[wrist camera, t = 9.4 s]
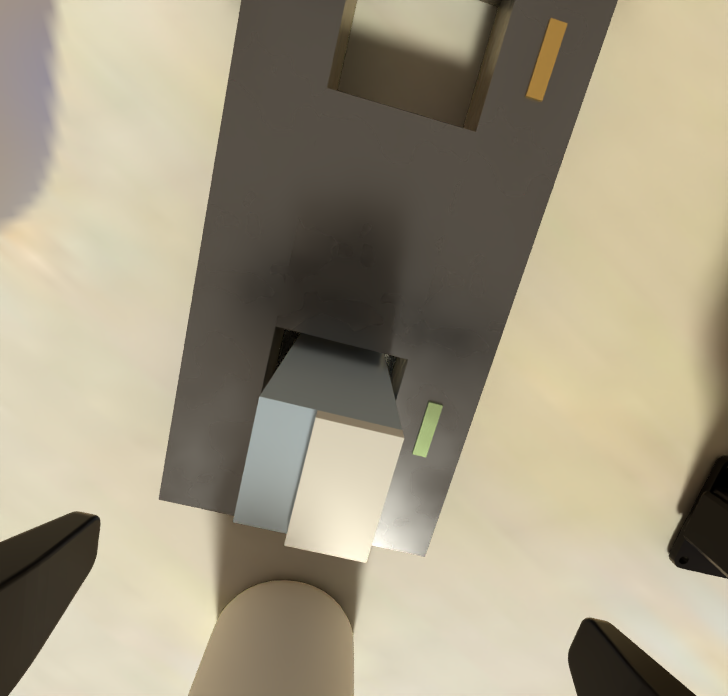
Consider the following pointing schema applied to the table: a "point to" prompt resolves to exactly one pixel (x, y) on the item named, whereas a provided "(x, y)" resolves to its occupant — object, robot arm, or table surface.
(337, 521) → the plug
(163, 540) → the table surface
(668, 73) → the table surface
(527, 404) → the table surface
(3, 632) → the robot arm
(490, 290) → the jack panel
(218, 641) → the milk bottle
